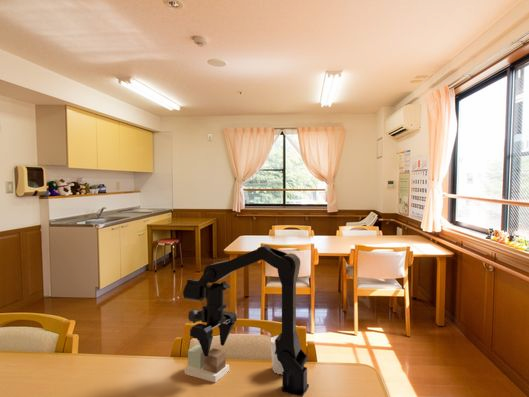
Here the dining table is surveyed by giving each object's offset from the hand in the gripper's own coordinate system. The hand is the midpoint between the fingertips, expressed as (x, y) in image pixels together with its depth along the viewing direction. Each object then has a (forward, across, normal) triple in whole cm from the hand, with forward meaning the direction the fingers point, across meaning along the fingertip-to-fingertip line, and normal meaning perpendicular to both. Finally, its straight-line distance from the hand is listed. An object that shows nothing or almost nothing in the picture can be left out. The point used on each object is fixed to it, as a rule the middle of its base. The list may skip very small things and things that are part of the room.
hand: (214, 350), depth 106 cm
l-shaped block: (+8, 0, -3) cm, 8 cm away
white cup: (+8, -12, +19) cm, 24 cm away
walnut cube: (+6, 0, 0) cm, 6 cm away
